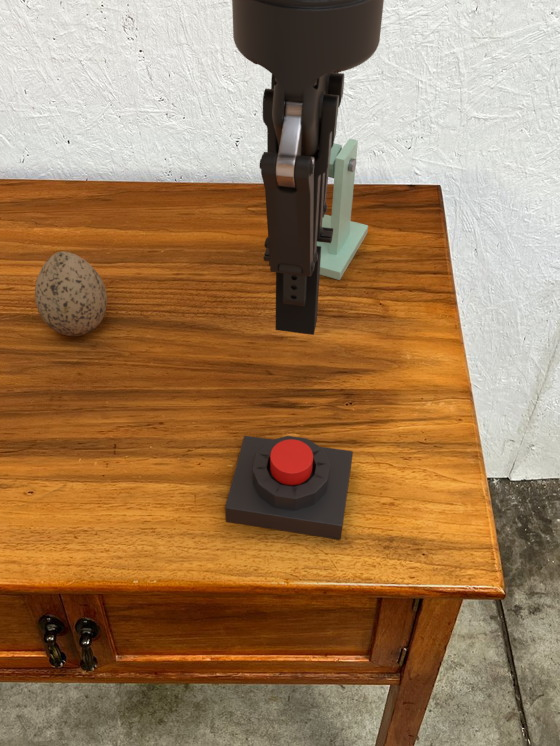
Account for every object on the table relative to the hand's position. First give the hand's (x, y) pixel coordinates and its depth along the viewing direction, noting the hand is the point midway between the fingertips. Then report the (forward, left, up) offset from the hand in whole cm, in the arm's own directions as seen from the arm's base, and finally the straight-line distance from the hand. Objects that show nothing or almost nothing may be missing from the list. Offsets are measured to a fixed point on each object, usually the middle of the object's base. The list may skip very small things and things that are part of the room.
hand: (296, 325), depth 54 cm
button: (0, 0, -17) cm, 17 cm away
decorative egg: (-26, +17, -21) cm, 37 cm away
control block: (0, 0, -20) cm, 20 cm away
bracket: (-2, +36, -20) cm, 41 cm away
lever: (-3, +31, -11) cm, 33 cm away
